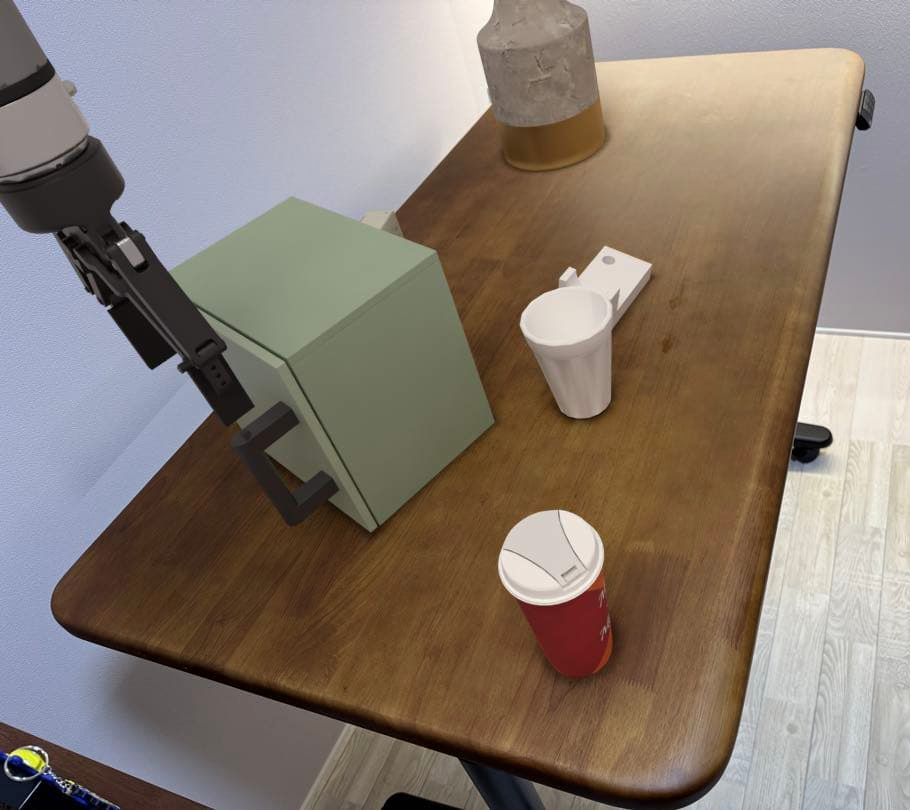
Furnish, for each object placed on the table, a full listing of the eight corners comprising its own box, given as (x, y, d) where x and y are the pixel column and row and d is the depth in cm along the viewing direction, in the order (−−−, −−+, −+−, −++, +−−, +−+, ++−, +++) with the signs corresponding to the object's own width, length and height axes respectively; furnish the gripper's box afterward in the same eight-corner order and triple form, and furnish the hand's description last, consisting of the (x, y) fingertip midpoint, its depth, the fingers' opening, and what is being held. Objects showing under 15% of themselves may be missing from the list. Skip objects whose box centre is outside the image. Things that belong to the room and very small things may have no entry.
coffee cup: (645, 650, 67) (623, 549, 57) (569, 710, 65) (532, 615, 55) (587, 587, 73) (558, 485, 63) (515, 640, 70) (473, 543, 60)
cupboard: (380, 525, 84) (286, 358, 67) (256, 433, 99) (155, 278, 82) (495, 422, 91) (436, 250, 75) (364, 351, 107) (291, 195, 90)
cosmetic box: (395, 279, 118) (367, 208, 110) (421, 279, 117) (395, 207, 109) (378, 305, 114) (348, 234, 106) (405, 306, 113) (376, 233, 104)
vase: (616, 118, 143) (590, -68, 122) (590, 169, 131) (557, -28, 110) (523, 124, 149) (484, -52, 128) (490, 172, 137) (442, -13, 117)
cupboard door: (327, 572, 80) (216, 411, 64) (207, 469, 95) (94, 318, 79) (378, 526, 83) (285, 361, 67) (254, 433, 99) (154, 281, 82)
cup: (526, 414, 91) (500, 327, 83) (577, 363, 96) (558, 276, 87) (593, 445, 86) (573, 355, 77) (644, 389, 90) (631, 299, 82)
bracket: (604, 343, 99) (610, 300, 93) (556, 322, 101) (559, 278, 95) (648, 284, 106) (656, 240, 100) (602, 265, 108) (607, 221, 102)
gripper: (174, 162, 46) (315, 412, 61) (29, 106, 61) (171, 318, 75) (56, 226, 43) (235, 474, 57) (-67, 151, 58) (100, 364, 72)
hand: (199, 386), depth 66 cm, fingers open, 13 cm apart
